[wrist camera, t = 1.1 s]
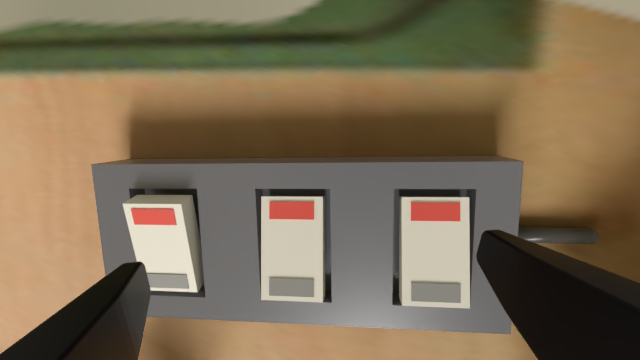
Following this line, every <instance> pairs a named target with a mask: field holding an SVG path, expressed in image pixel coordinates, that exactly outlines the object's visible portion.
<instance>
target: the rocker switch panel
mask: <svg viewBox="0 0 640 360" xmlns="http://www.w3.org/2000/svg"><path fill="white" fill-rule="evenodd" d="M91 165H92V173H93V181H94V189H95V197H96V204H97V212H98V220H99V228H100V236H101V244H102V252H103V259H104V267H105V275H106V276H107V275H108V274H109V273H111V272H112V271H113V270H115V269H116V268H117V267H119V266H120V265H122V264H123V263H128V262H137V260H136V256H135V252H134V248H133V244H132V240H131V236H130V232H129V228H128V224H127V220H126V216H125V212H124V208H123V203H124V202H126V201H128V200H129V199H131V198H133V197H134V196H136V195H193V201H194V207H195V213H196V218H197V224H198V230H199V235H200V241H201V248H202V260H203V273H204V284H203V285H202V287H201V288H200V290H199V291H198V292H176V291H151V295H150V302H149V307H148V312H147V317H167V318H187V319H208V320H228V321H249V322H269V323H290V324H310V325H331V326H351V327H372V328H392V329H413V330H433V331H453V332H474V333H494V334H510V333H511V319H510V318H509V316H508V315H507V313H506V312H505V310H504V309H503V307H502V305H501V303H500V302H499V300H498V298H497V296H496V295H495V293H494V291H493V289H492V287H491V286H490V284H489V282H488V280H487V278H486V277H485V275H484V273H483V271H482V269H481V268H480V266H479V264H478V262H477V258H476V254H477V250H478V246H479V242H480V238H481V235H482V233H483V232H484V231H486V230H495V229H498V230H502V231H504V232H507V233H509V234H512V235H515V236H517V237H520V238H523V239H525V240H528V241H530V242H533V243H563V244H593V243H595V242H597V241H598V239H599V234H598V232H597V231H596V230H594V229H592V228H574V227H519V213H520V200H521V187H522V174H523V161H520V160H515V159H510V158H506V157H501V156H394V157H286V158H178V159H126V160H119V161H112V162H105V163H98V164H91ZM261 196H325V297H324V300H323V303H322V302H298V301H273V300H261ZM399 196H459V197H469V222H470V309H468V308H444V307H420V306H402V304H401V302H400V299H399Z"/></svg>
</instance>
